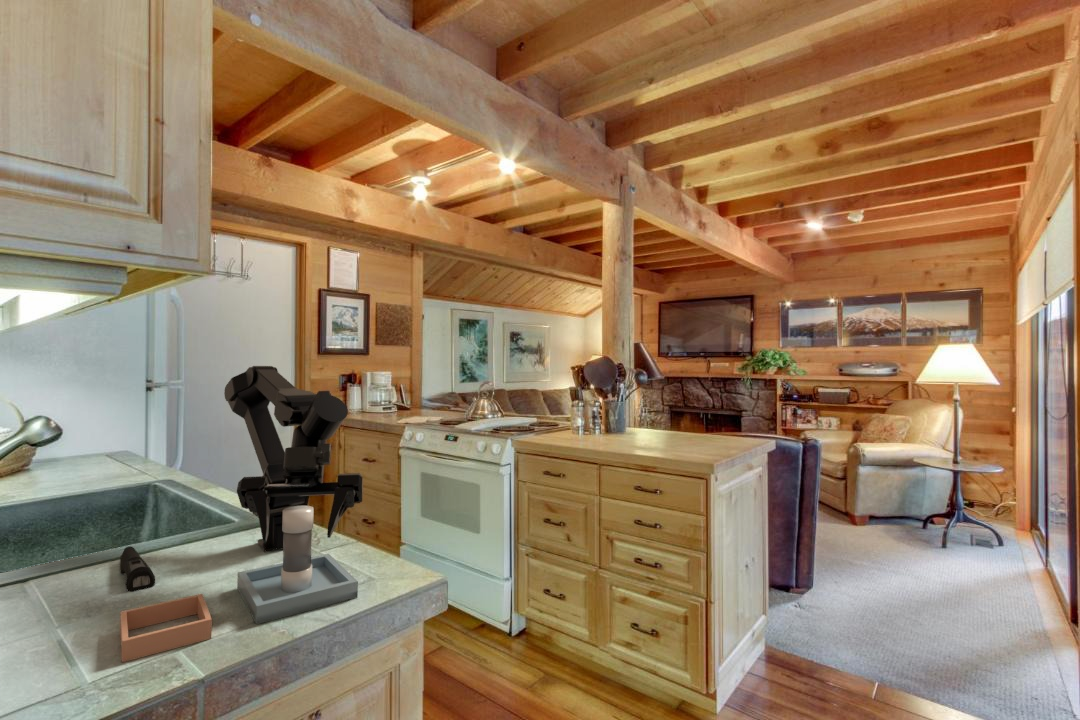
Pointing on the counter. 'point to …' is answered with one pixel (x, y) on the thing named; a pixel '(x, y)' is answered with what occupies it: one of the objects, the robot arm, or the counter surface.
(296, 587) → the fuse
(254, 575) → the parts tray
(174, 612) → the socket ring
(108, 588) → the counter surface
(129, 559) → the electric trimmer
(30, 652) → the counter surface
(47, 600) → the counter surface
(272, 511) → the robot arm
